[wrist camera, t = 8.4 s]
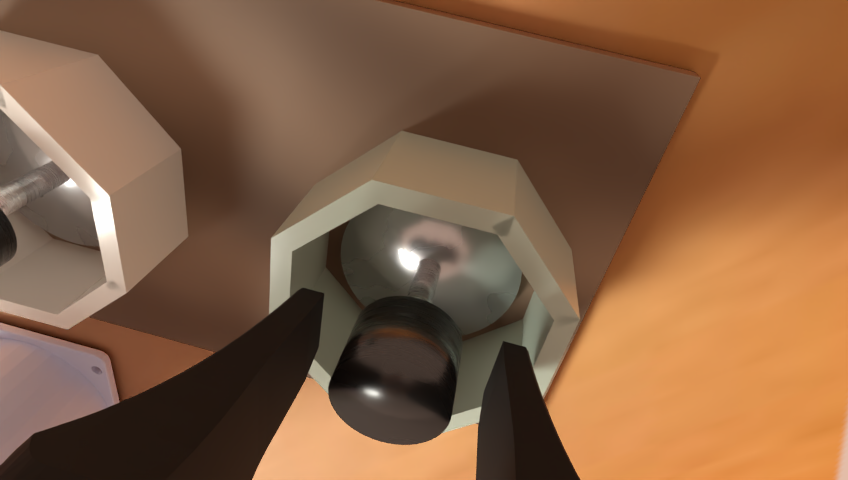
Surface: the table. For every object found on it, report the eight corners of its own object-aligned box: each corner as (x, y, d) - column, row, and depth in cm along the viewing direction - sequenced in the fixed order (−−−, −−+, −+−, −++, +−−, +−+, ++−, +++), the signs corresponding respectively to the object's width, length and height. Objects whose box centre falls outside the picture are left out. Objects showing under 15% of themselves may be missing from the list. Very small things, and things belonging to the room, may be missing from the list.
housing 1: (192, 288, 20) (136, 349, 17) (-8, 233, 20) (-95, 284, 17) (174, 73, 15) (93, 108, 12) (-84, 9, 16) (-220, 28, 13)
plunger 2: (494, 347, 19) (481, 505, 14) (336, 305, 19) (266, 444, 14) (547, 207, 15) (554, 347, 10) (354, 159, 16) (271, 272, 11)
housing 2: (517, 375, 19) (515, 453, 16) (305, 318, 20) (267, 385, 17) (601, 180, 15) (617, 242, 12) (321, 110, 15) (272, 154, 12)
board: (525, 425, 22) (525, 437, 21) (-2, 280, 23) (-14, 288, 22) (694, 71, 13) (700, 77, 13) (-147, -129, 14) (-171, -131, 14)
